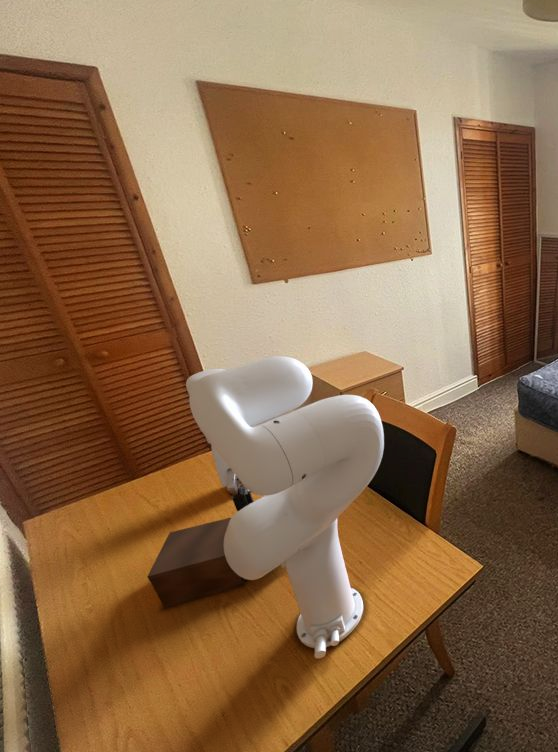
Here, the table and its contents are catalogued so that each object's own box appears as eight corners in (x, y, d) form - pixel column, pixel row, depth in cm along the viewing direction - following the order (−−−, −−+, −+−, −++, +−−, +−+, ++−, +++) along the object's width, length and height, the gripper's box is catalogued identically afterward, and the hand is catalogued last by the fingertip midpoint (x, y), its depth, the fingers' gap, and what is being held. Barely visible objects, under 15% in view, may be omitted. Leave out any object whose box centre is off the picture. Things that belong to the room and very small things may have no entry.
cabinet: (253, 543, 101) (242, 514, 97) (243, 585, 90) (230, 554, 86) (183, 562, 96) (169, 532, 92) (164, 608, 85) (147, 576, 82)
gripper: (215, 413, 89) (238, 476, 95) (192, 455, 74) (221, 526, 81) (254, 406, 91) (273, 468, 98) (239, 445, 77) (263, 515, 83)
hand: (250, 494), depth 89 cm, fingers open, 9 cm apart
